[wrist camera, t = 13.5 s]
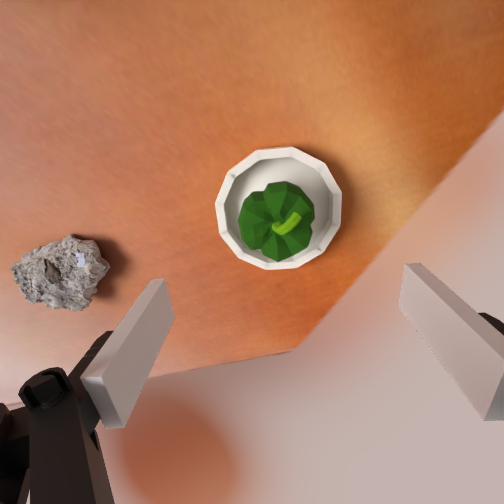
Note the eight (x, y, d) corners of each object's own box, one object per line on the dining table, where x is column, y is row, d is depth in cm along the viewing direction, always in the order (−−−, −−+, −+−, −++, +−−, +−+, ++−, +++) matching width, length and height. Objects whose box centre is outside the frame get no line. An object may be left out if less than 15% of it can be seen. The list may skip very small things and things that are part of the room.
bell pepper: (261, 248, 37) (260, 287, 28) (231, 195, 34) (219, 219, 25) (319, 221, 35) (338, 254, 26) (292, 162, 32) (303, 176, 23)
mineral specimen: (29, 251, 40) (82, 214, 37) (82, 302, 44) (135, 274, 41) (-8, 272, 35) (50, 232, 32) (56, 328, 39) (114, 298, 36)
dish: (227, 262, 39) (225, 272, 36) (212, 152, 33) (207, 155, 30) (333, 256, 38) (338, 265, 35) (337, 141, 32) (344, 142, 29)
